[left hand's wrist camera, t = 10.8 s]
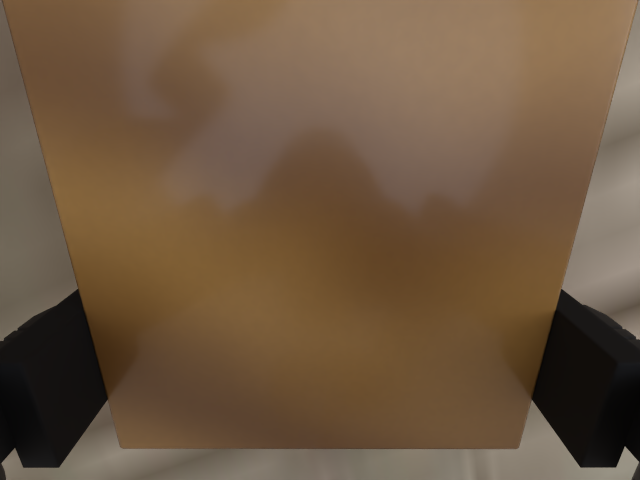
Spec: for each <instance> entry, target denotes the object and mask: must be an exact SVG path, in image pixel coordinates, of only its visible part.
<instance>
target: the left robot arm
mask: <svg viewBox="0 0 640 480" xmlns="http://www.w3.org/2000/svg"><path fill="white" fill-rule="evenodd" d="M107 400H108V399H107V395H106V391H105V388H104V384H103V380H102V376H101V372H100V369H99V365H98V361H97V357H96V354H95V350H94V346H93V342H92V338H91V335H90V331H89V327H88V323H87V320H86V316H85V312H84V308H83V304H82V301H81V297H80V293H79V289H77V290H76V291H75V292H73V293H72V294H71V295H70V296H68V297H67V298H66V299H64V300H63V301H62V302H60V303H59V304H58V305H57V306H54V307H52V308H50V309H48V310H46V311H44V312H42V313H40V314H38V315H36V316H34V317H32V318H31V319H30V320H28V321H27V322H25V323H24V324H23V325H21V326H20V327H19V328H18V330H17V331H13V332H12V333H11V334H9V335H8V336H7V337H5V338H4V341H0V480H6V476H5V471H4V468H3V466H2V464H1V463H2V462H3V461H4V459H5V458H6V457H7V456H8V455H9V454H10V453H11V451H12V450H13V449H14V448H16V451H17V453H18V456H19V458H20V460H21V463H22V465H23V468H59V467H60V465H61V464H62V463H63V461H64V460H65V458H66V457H67V456H68V454H69V453H70V451H71V450H72V449H73V447H74V446H75V444H76V443H77V442H78V440H79V439H80V437H81V436H82V435H83V433H84V432H85V430H86V429H87V428H88V426H89V425H90V423H91V422H92V421H93V419H94V418H95V416H96V415H97V414H98V412H99V411H100V409H101V408H102V407H103V405H104V404H105V402H106V401H107ZM532 400H533V402H534V403H535V404H536V406H537V407H538V409H539V410H540V411H541V413H542V414H543V416H544V417H545V418H546V420H547V421H548V423H549V424H550V425H551V427H552V428H553V430H554V431H555V432H556V434H557V435H558V437H559V438H560V439H561V441H562V442H563V444H564V445H565V446H566V448H567V449H568V451H569V452H570V453H571V455H572V456H573V458H574V459H575V460H576V462H577V463H578V465H579V466H580V467H616V466H617V464H618V461H619V459H620V457H621V454H622V452H623V449H624V447H625V446H626V448H627V449H628V450H629V451H630V452H631V453H632V454H633V455H634V457H635V458H636V459H637V460H638V461H639V464H638V466H637V468H636V471H635V473H634V475H633V477H632V480H640V340H636V337H635V336H634V335H633V334H631V333H630V332H629V331H627V330H626V329H622V326H620V325H619V324H618V323H616V322H615V321H614V320H612V319H611V318H610V317H608V316H607V315H605V314H603V313H601V312H599V311H597V310H595V309H593V308H591V307H589V306H586V305H582V304H580V303H579V302H578V301H577V300H575V299H574V298H573V297H571V296H570V295H569V294H567V293H566V292H565V291H564V290H562V289H561V292H560V295H559V299H558V303H557V307H556V310H555V314H554V318H553V322H552V325H551V329H550V333H549V337H548V340H547V344H546V348H545V352H544V355H543V359H542V363H541V367H540V370H539V374H538V378H537V382H536V385H535V389H534V393H533V397H532Z"/></svg>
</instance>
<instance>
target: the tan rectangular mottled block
mask: <svg viewBox="0 0 640 480" xmlns="http://www.w3.org/2000/svg"><path fill="white" fill-rule="evenodd" d="M2 2H3V6H4V9H5V13H6V17H7V21H8V25H9V28H10V32H11V36H12V40H13V43H14V47H15V51H16V55H17V59H18V62H19V66H20V70H21V74H22V77H23V81H24V85H25V89H26V93H27V96H28V100H29V104H30V108H31V111H32V115H33V119H34V123H35V127H36V130H37V134H38V138H39V142H40V146H41V149H42V153H43V157H44V161H45V164H46V168H47V172H48V176H49V180H50V183H51V187H52V191H53V195H54V198H55V202H56V206H57V210H58V214H59V217H60V221H61V225H62V229H63V233H64V236H65V240H66V244H67V248H68V251H69V255H70V259H71V263H72V267H73V270H74V274H75V278H76V282H77V285H78V289H79V293H80V297H81V301H82V304H83V308H84V312H85V316H86V320H87V323H88V327H89V331H90V335H91V338H92V342H93V346H94V350H95V354H96V357H97V361H98V365H99V369H100V372H101V376H102V380H103V384H104V388H105V391H106V395H107V399H108V403H109V406H110V410H111V414H112V418H113V422H114V425H115V429H116V433H117V437H118V441H119V444H120V447H121V448H123V449H517V448H519V445H520V441H521V438H522V434H523V430H524V426H525V423H526V419H527V415H528V411H529V408H530V404H531V400H532V397H533V393H534V389H535V385H536V382H537V378H538V374H539V370H540V367H541V363H542V359H543V355H544V352H545V348H546V344H547V340H548V337H549V333H550V329H551V325H552V322H553V318H554V314H555V310H556V307H557V303H558V299H559V295H560V292H561V288H562V284H563V281H564V277H565V273H566V269H567V266H568V262H569V258H570V254H571V251H572V247H573V243H574V239H575V236H576V232H577V228H578V224H579V221H580V217H581V213H582V209H583V206H584V202H585V198H586V194H587V191H588V187H589V183H590V180H591V176H592V172H593V168H594V165H595V161H596V157H597V153H598V150H599V146H600V142H601V138H602V135H603V131H604V127H605V123H606V120H607V116H608V112H609V108H610V105H611V101H612V97H613V93H614V90H615V86H616V82H617V79H618V75H619V71H620V67H621V64H622V60H623V56H624V52H625V49H626V45H627V41H628V37H629V34H630V30H631V26H632V22H633V19H634V15H635V11H636V7H637V4H638V0H2Z"/></svg>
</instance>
